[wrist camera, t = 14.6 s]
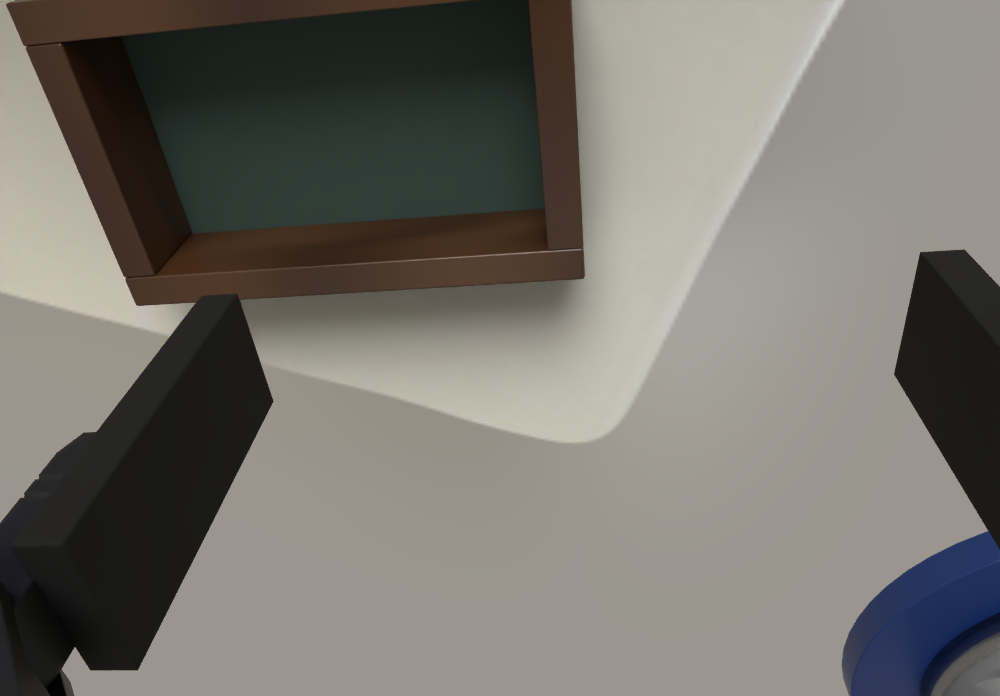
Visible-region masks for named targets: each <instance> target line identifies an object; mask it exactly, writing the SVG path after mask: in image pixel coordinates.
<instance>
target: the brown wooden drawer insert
mask: <svg viewBox="0 0 1000 696" xmlns="http://www.w3.org/2000/svg"><path fill="white" fill-rule="evenodd" d="M465 1H475V0H15V1H12V2H10V3H7V4H6V6H7V8H8V10H9V13H10V15H11V17H12V19H13V22H14V24H15V26H16V29H17V31H18V33H19V36H20V38H21V40H22V43H23V45H24V46H26V50H27V53H28V55H29V57H30V60H31V62H32V64H33V67H34V69H35V71H36V74H37V76H38V78H39V81H40V83H41V85H42V87H43V90H44V92H45V94H46V97H47V99H48V101H49V104H50V106H51V108H52V111H53V113H54V115H55V118H56V120H57V122H58V125H59V127H60V129H61V132H62V134H63V136H64V139H65V141H66V143H67V146H68V148H69V150H70V152H71V155H72V157H73V159H74V162H75V164H76V166H77V169H78V171H79V173H80V176H81V178H82V180H83V183H84V185H85V187H86V190H87V192H88V194H89V197H90V199H91V201H92V204H93V206H94V208H95V211H96V213H97V215H98V218H99V220H100V222H101V224H102V227H103V229H104V231H105V234H106V236H107V238H108V241H109V243H110V245H111V248H112V250H113V252H114V255H115V257H116V259H117V262H118V264H119V266H120V269H121V271H122V273H123V276H124V277H126V283H127V285H128V287H129V289H130V292H131V294H132V296H133V299H134V301H135V303H136V305H137V306H144V305H160V304H177V303H193V302H197V301H198V300H199V298H200V297H201V296H206V295H222V294H238V297H239V300H243V299H259V298H276V297H292V296H309V295H325V294H342V293H358V292H375V291H391V290H408V289H424V288H441V287H457V286H474V285H490V284H507V283H523V282H540V281H556V280H573V279H583V278H584V277H585V270H584V250H583V229H582V209H581V189H580V168H579V148H578V127H577V107H576V87H575V66H574V46H573V26H572V5H571V0H528V5H529V18H530V30H531V43H532V56H533V69H534V82H535V94H536V107H537V120H538V133H539V146H540V158H541V171H542V184H543V197H544V209H533V210H518V211H504V212H490V213H476V214H462V215H448V216H434V217H420V218H405V219H391V220H377V221H363V222H349V223H335V224H321V225H307V226H292V227H278V228H264V229H250V230H236V231H222V232H208V233H194V234H191V229H190V226H189V223H188V220H187V218H186V215H185V212H184V209H183V207H182V204H181V201H180V198H179V196H178V193H177V190H176V187H175V184H174V182H173V179H172V176H171V173H170V171H169V168H168V165H167V162H166V160H165V157H164V154H163V151H162V148H161V146H160V143H159V140H158V137H157V135H156V132H155V129H154V126H153V124H152V121H151V118H150V115H149V112H148V110H147V107H146V104H145V101H144V99H143V96H142V93H141V90H140V88H139V85H138V82H137V79H136V76H135V74H134V71H133V68H132V65H131V63H130V60H129V57H128V54H127V52H126V49H125V46H124V43H123V40H122V38H121V36H129V35H139V34H148V33H158V32H168V31H178V30H188V29H198V28H208V27H218V26H228V25H237V24H247V23H257V22H267V21H277V20H287V19H297V18H307V17H317V16H326V15H336V14H346V13H356V12H366V11H376V10H386V9H396V8H406V7H415V6H425V5H435V4H445V3H455V2H465Z"/></svg>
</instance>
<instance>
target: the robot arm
mask: <svg viewBox="0 0 1000 696" xmlns="http://www.w3.org/2000/svg"><path fill="white" fill-rule="evenodd" d="M894 375H895V377H896V378H897V380H898V381H899V383H900V385H901V386H902V388H903V390H904V391H905V393H906V395H907V396H908V398H909V399H910V401H911V403H912V405H913V406H914V408H915V410H916V411H917V413H918V415H919V416H920V418H921V420H922V421H923V423H924V425H925V426H926V428H927V430H928V431H929V433H930V435H931V436H932V438H933V440H934V441H935V443H936V444H937V446H938V448H939V449H940V451H941V453H942V454H943V456H944V458H945V460H946V461H947V463H948V465H949V466H950V468H951V470H952V471H953V473H954V474H955V476H956V478H957V479H958V481H959V483H960V484H961V486H962V488H963V489H964V491H965V493H966V494H967V496H968V498H969V499H970V501H971V503H972V504H973V506H974V508H975V509H976V511H977V513H978V514H979V516H980V518H981V519H982V521H983V523H984V524H985V526H986V528H987V529H988V531H989V533H990V534H991V536H992V538H993V539H994V541H995V543H996V544H997V546H998V548H999V549H1000V287H999V286H998V284H997V283H996V282H995V281H994V280H993V279H992V278H991V277H989V275H988V274H987V273H986V272H985V271H984V270H983V269H982V268H981V266H980V265H978V263H977V262H976V261H975V260H974V259H973V258H972V257H971V256H970V255H969V254H968V253H967V252H966V251H965V250H950V251H934V252H920V256H919V260H918V265H917V270H916V274H915V280H914V284H913V289H912V293H911V298H910V302H909V307H908V312H907V317H906V321H905V326H904V331H903V336H902V340H901V345H900V350H899V354H898V359H897V363H896V368H895V373H894ZM272 403H273V399H272V396H271V393H270V390H269V387H268V384H267V381H266V378H265V375H264V372H263V369H262V366H261V363H260V360H259V357H258V354H257V351H256V348H255V345H254V342H253V339H252V336H251V333H250V330H249V327H248V324H247V321H246V318H245V315H244V312H243V309H242V306H241V303H240V300H239V297H238V294H222V295H206V296H201V297H200V298H199V300H198V301H197V302H196V304H195V305H194V306H193V307H192V309H191V310H190V311H189V313H188V314H187V315H186V316H185V318H184V319H183V320H182V322H181V323H180V324H179V326H178V327H177V328H176V329H175V331H174V332H173V333H172V335H171V336H170V337H169V339H168V340H167V341H166V342H165V344H164V345H163V346H162V348H161V349H160V350H159V352H158V353H157V354H156V355H155V357H154V358H153V360H152V361H151V362H150V363H149V365H148V366H147V367H146V369H145V370H144V371H143V372H142V374H141V375H140V376H139V377H138V379H137V380H136V381H135V383H134V384H133V385H132V387H131V388H130V389H129V390H128V392H127V393H126V394H125V396H124V397H123V398H122V400H121V401H120V402H119V403H118V405H117V406H116V407H115V409H114V410H113V411H112V413H111V414H110V415H109V416H108V418H107V419H106V420H105V422H104V423H103V424H102V425H101V427H100V428H99V430H98V431H97V432H92V433H83V434H81V435H80V436H79V437H78V438H76V439H75V440H73V441H72V442H71V443H69V444H68V445H67V446H65V447H64V448H63V449H61V450H60V451H59V452H57V453H56V455H55V456H54V457H53V458H52V460H51V461H50V462H49V463H48V465H47V466H46V467H45V468H44V469H43V471H42V472H41V473H40V474H39V479H37V480H35V481H34V482H33V483H32V484H31V486H30V487H29V488H28V489H27V491H26V492H25V493H24V494H25V496H24V498H20V499H19V500H18V502H17V503H16V504H15V505H14V507H13V508H12V509H11V510H10V512H9V513H8V514H7V515H6V517H5V518H4V519H3V520H2V522H1V523H0V696H74V694H73V690H72V686H71V683H70V681H69V679H68V678H67V677H66V675H65V674H64V672H63V671H62V667H63V665H64V664H65V662H66V660H67V659H68V657H69V655H70V654H71V652H72V650H73V649H74V647H76V649H77V650H78V652H79V653H80V655H81V656H82V658H83V660H84V661H85V663H86V664H87V666H88V667H89V669H90V670H138V669H139V667H140V665H141V662H142V661H143V659H144V657H145V655H146V653H147V651H148V649H149V647H150V645H151V643H152V641H153V639H154V637H155V635H156V633H157V631H158V629H159V627H160V625H161V623H162V621H163V619H164V617H165V615H166V613H167V611H168V609H169V607H170V605H171V603H172V601H173V599H174V597H175V595H176V593H177V591H178V589H179V587H180V585H181V583H182V581H183V579H184V577H185V575H186V573H187V572H188V570H189V567H190V566H191V564H192V562H193V560H194V558H195V556H196V553H197V552H198V550H199V548H200V546H201V544H202V542H203V540H204V538H205V536H206V534H207V532H208V530H209V528H210V526H211V524H212V522H213V520H214V518H215V516H216V514H217V512H218V510H219V508H220V506H221V504H222V502H223V500H224V498H225V496H226V494H227V492H228V490H229V488H230V486H231V484H232V482H233V480H234V478H235V476H236V474H237V472H238V470H239V468H240V466H241V465H242V463H243V460H244V458H245V457H246V455H247V453H248V451H249V449H250V447H251V445H252V442H253V441H254V439H255V437H256V435H257V433H258V430H259V429H260V427H261V425H262V423H263V421H264V419H265V417H266V415H267V413H268V411H269V409H270V407H271V405H272ZM921 696H1000V613H997V614H995V615H993V616H991V617H989V618H987V619H985V620H983V621H981V622H979V623H977V624H975V625H974V626H972V627H970V628H969V629H967V630H966V631H964V632H963V633H961V634H960V635H958V636H957V637H956V638H954V639H953V640H952V641H951V642H950V643H948V644H947V645H946V646H945V647H944V648H943V649H942V650H941V651H940V652H939V653H938V654H937V655H936V657H935V658H934V659H933V660H932V662H931V663H930V665H929V667H928V668H927V670H926V672H925V675H924V677H923V681H922V685H921Z"/></svg>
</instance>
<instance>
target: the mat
mask: <svg viewBox="0 0 1000 696" xmlns="http://www.w3.org/2000/svg"><path fill="white" fill-rule="evenodd" d="M121 38H122V40H123V43H124V46H125V49H126V52H127V54H128V57H129V60H130V63H131V65H132V68H133V71H134V74H135V76H136V79H137V82H138V85H139V88H140V90H141V93H142V96H143V99H144V101H145V104H146V107H147V110H148V112H149V115H150V118H151V121H152V124H153V126H154V129H155V132H156V135H157V137H158V140H159V143H160V146H161V148H162V151H163V154H164V157H165V160H166V162H167V165H168V168H169V171H170V173H171V176H172V179H173V182H174V184H175V187H176V190H177V193H178V196H179V198H180V201H181V204H182V207H183V209H184V212H185V215H186V218H187V220H188V223H189V226H190V229H191V234H194V233H208V232H222V231H236V230H250V229H264V228H278V227H292V226H307V225H321V224H335V223H349V222H363V221H377V220H391V219H405V218H420V217H434V216H448V215H462V214H476V213H490V212H504V211H518V210H533V209H544V197H543V184H542V171H541V158H540V146H539V133H538V120H537V107H536V94H535V82H534V69H533V56H532V43H531V30H530V18H529V5H528V0H475V1H465V2H455V3H445V4H435V5H425V6H415V7H406V8H396V9H386V10H376V11H366V12H356V13H346V14H336V15H326V16H317V17H307V18H297V19H287V20H277V21H267V22H257V23H247V24H237V25H228V26H218V27H208V28H198V29H188V30H178V31H168V32H158V33H148V34H139V35H129V36H121Z"/></svg>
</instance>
